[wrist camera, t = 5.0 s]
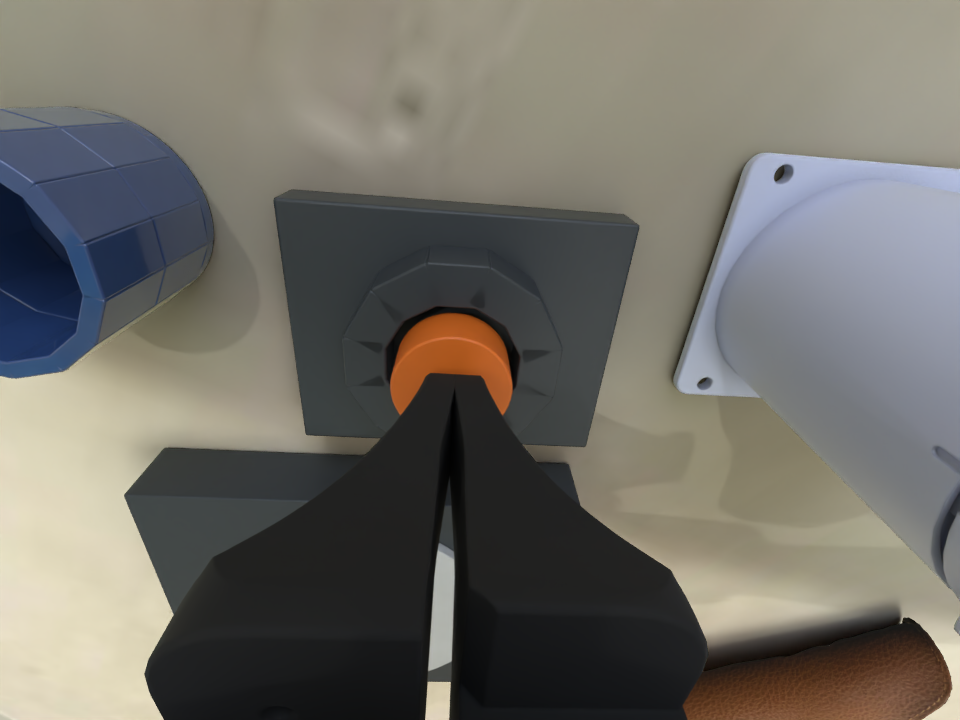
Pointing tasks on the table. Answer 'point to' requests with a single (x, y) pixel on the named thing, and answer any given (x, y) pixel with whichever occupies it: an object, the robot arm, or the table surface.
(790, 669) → the sunglasses case
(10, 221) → the blue cup
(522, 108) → the table surface
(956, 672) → the table surface
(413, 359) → the button
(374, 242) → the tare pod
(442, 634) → the scale
